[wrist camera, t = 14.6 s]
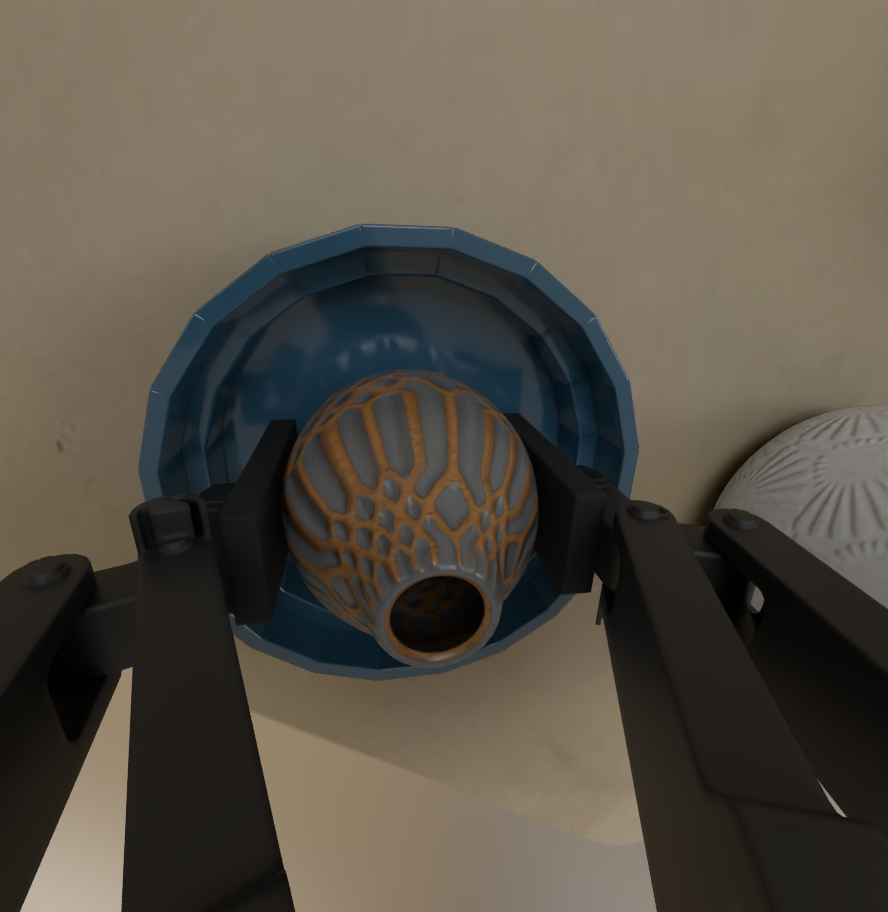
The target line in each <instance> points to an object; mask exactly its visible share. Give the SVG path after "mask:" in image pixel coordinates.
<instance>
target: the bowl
mask: <svg viewBox="0 0 888 912" xmlns="http://www.w3.org/2000/svg"><path fill="white" fill-rule="evenodd" d="M401 369H415V370H425V371H431V372H436V373H439V374H443V375H446V376H449V377H452V378H454V379H456V380H459V381H460V382H462V383H464V384H466V385H468V386H470V387H471V388H473V389H474V390H476V391H477V392H479V393H480V394H482V395H483V396H484V397H485V398H487V399H488V400H489V401H490V402H491V403H492V404H494V405H495V406H496V407H497V408H498V409H499V410H500V411H501V412H502V413H519V414H520V415H521V416H523V417H524V418H525V419H526V420H527V421H528V422H529V423H530V424H531V425H532V426H533V427H534V428H536V429H537V430H538V431H539V432H540V433H541V434H542V435H543V436H544V437H545V438H546V439H547V440H549V441H550V442H551V443H552V444H553V445H554V446H555V447H556V448H557V449H558V450H559V451H560V452H562V453H563V454H564V455H565V456H566V457H567V458H568V459H569V460H570V461H571V462H572V463H573V464H575V465H584V466H586V467H589V468H591V469H593V470H595V471H597V472H599V473H600V474H601V475H602V476H603V477H604V478H606V481H609V482H610V483H611V484H613V485H614V487H616V488H617V489H618V490H619V491H621V492H622V493H623V494H624V495H625V496H626V497H628V498H629V499H630V494H631V489H632V483H633V478H634V472H635V467H636V462H637V456H638V451H639V450H638V448H639V445H638V438H637V431H636V423H635V416H634V409H633V402H632V394H631V387H630V382H629V378H628V376H627V374H626V373H625V371H624V369H623V367H622V365H621V363H620V361H619V359H618V357H617V355H616V353H615V351H614V349H613V347H612V346H611V344H610V342H609V340H608V338H607V336H606V334H605V332H604V330H603V328H602V326H601V324H600V322H599V320H598V318H597V317H596V316H595V314H594V313H593V312H592V311H591V310H590V309H589V308H588V307H587V306H586V305H584V304H583V303H582V302H581V301H580V300H579V299H578V298H577V297H576V296H575V295H574V294H572V293H571V292H570V291H569V290H568V289H567V288H566V287H565V286H564V285H563V284H561V283H560V282H559V281H558V280H557V279H556V278H555V277H554V276H553V275H552V274H551V273H549V272H548V271H547V270H546V269H545V268H544V267H543V266H542V265H541V264H540V263H538V262H537V261H535V260H534V259H532V258H529V257H527V256H524V255H522V254H520V253H517V252H515V251H512V250H510V249H507V248H505V247H502V246H500V245H497V244H495V243H492V242H490V241H488V240H485V239H483V238H480V237H478V236H475V235H473V234H470V233H468V232H465V231H463V230H461V229H458V228H453V227H439V226H412V225H384V224H361V225H354V226H351V227H348V228H345V229H342V230H339V231H336V232H333V233H330V234H327V235H323V236H320V237H317V238H314V239H311V240H308V241H305V242H302V243H299V244H296V245H293V246H289V247H286V248H283V249H280V250H277V251H274V252H271V253H270V255H266V256H264V257H263V258H262V259H261V260H259V261H258V262H257V263H256V264H254V265H253V266H252V267H251V268H249V269H248V270H247V271H246V272H244V273H243V274H242V275H240V276H239V277H238V278H237V279H235V280H234V281H233V282H232V283H230V284H229V285H228V286H227V287H225V288H224V289H223V290H222V291H220V292H219V293H218V294H217V295H215V296H214V297H213V298H211V299H210V300H209V301H208V302H206V303H205V304H204V305H203V306H201V307H200V308H199V309H198V310H197V311H196V313H194V314H193V315H192V317H191V319H190V321H189V322H188V324H187V326H186V327H185V329H184V331H183V332H182V334H181V336H180V338H179V339H178V341H177V343H176V344H175V346H174V348H173V350H172V351H171V353H170V355H169V356H168V358H167V360H166V362H165V363H164V365H163V367H162V368H161V370H160V372H159V374H158V375H157V377H156V379H155V380H154V382H153V384H152V386H151V389H150V392H149V398H148V405H147V412H146V419H145V426H144V432H143V439H142V446H141V453H140V460H139V466H138V468H139V475H140V480H141V484H142V488H143V492H144V497H145V501H149V500H151V499H154V498H158V497H162V496H166V495H174V494H194V495H197V496H199V494H200V493H201V492H203V491H204V490H206V489H207V488H209V487H211V486H212V485H214V484H227V483H236V482H237V480H238V479H239V477H240V475H241V473H242V471H243V470H244V468H245V466H246V464H247V462H248V461H249V459H250V457H251V455H252V454H253V452H254V450H255V448H256V446H257V445H258V443H259V441H260V439H261V437H262V436H263V434H264V432H265V430H266V429H267V427H268V425H269V423H270V421H271V420H286V419H295V421H296V431H297V438H298V436H299V434H300V432H301V431H302V429H303V427H304V426H305V424H306V423H307V422H308V420H309V419H310V417H311V416H312V415H313V413H314V412H315V411H316V410H317V409H318V408H319V407H320V406H321V405H322V404H323V403H324V402H325V401H326V400H327V399H328V398H329V397H330V396H332V395H333V394H334V393H336V392H337V391H339V390H340V389H342V388H343V387H345V386H347V385H348V384H350V383H352V382H354V381H356V380H359V379H361V378H364V377H366V376H369V375H373V374H376V373H380V372H385V371H391V370H401ZM594 574H595V572H594ZM574 596H575V594H567V595H562V594H561V592H560V590H559V589H558V587H557V586H556V584H555V582H554V581H553V579H552V578H551V576H550V574H549V573H548V571H547V569H546V568H545V566H544V565H543V563H542V561H541V560H540V558H539V556H538V555H537V553H536V552H535V550H534V548H533V551H532V554H531V556H530V559H529V561H528V564H527V566H526V568H525V570H524V572H523V574H522V576H521V578H520V579H519V581H518V582H517V584H516V585H515V587H514V588H513V590H512V591H511V593H510V594H509V595H508V596H507V598H506V599H505V600H504V602H503V604H502V610H501V615H500V619H499V622H498V625H497V627H496V629H495V631H494V633H493V635H492V636H491V638H490V639H489V640H488V641H487V642H486V644H485V645H484V646H483V647H482V648H480V649H479V650H478V651H477V652H475V653H474V654H473V655H471V656H469V657H468V658H466V659H464V660H462V661H459V662H457V663H454V664H451V665H447V666H442V667H434V668H424V667H416V666H411V665H408V664H405V663H403V662H400V661H398V660H396V659H395V658H393V657H392V656H390V655H389V654H388V653H387V652H386V651H385V650H384V649H383V648H382V647H381V646H380V645H379V643H378V642H377V640H376V639H375V638H374V636H372V635H370V634H367V633H365V632H363V631H361V630H359V629H357V628H355V627H353V626H351V625H349V624H348V623H346V622H344V621H342V620H341V619H340V618H338V617H337V616H335V615H334V614H333V613H332V612H330V611H329V610H328V609H327V608H326V607H325V606H324V605H323V604H322V603H320V602H319V600H318V599H317V598H316V597H315V596H314V595H313V593H312V592H311V591H310V589H309V588H308V587H307V585H306V584H305V582H304V581H303V579H302V577H301V576H300V574H299V572H298V570H297V568H296V566H295V564H294V561H293V559H292V556H291V554H290V551H289V552H288V556H287V561H286V565H285V569H284V573H283V577H282V581H281V585H280V589H279V594H278V598H277V602H276V606H275V610H274V614H273V618H272V622H270V623H259V624H249V625H238V626H236V624H235V618H234V612H233V607H232V609H231V611H230V614H229V619H230V623H231V628H232V632H233V634H234V635H235V636H236V637H237V638H239V639H240V640H241V641H243V642H244V643H245V644H246V645H248V646H249V647H251V648H253V649H255V650H258V651H260V652H263V653H265V654H268V655H270V656H273V657H275V658H278V659H280V660H283V661H285V662H288V663H290V664H293V665H295V666H298V667H300V668H303V669H305V670H308V671H310V672H313V671H314V673H319V674H327V675H335V676H343V677H351V678H359V679H368V680H376V681H378V680H380V681H381V680H390V679H398V678H407V677H415V676H424V675H433V674H441V673H442V672H443V673H445V672H448V671H451V670H453V669H456V668H459V667H461V666H464V665H467V664H470V663H472V662H475V661H478V660H481V659H483V658H486V657H489V656H492V655H494V654H497V653H500V652H502V650H503V651H504V650H506V649H507V648H509V647H510V646H512V645H513V644H515V643H516V642H518V641H519V640H521V639H522V638H524V637H525V636H527V635H528V634H530V633H531V632H533V631H534V630H536V629H537V628H539V627H540V626H542V625H543V624H545V623H546V622H548V621H549V620H551V619H552V618H554V617H555V616H556V615H557V614H558V613H559V612H560V611H561V610H562V609H563V608H564V607H565V605H566V604H567V603H568V602H569V601H570V600H571V599H572V598H573V597H574Z"/></svg>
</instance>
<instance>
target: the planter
mask: <svg viewBox="0 0 888 912" xmlns="http://www.w3.org/2000/svg"><path fill="white" fill-rule="evenodd" d="M721 508H726V509H731V508H735V509H739V510H740V511H741V510H745V511H748V512H749V513H751V514H753V515H756V516H759V517H760V518H762V519H764V520H766V521H767V522H769V523H770V524H772V525H773V526H774V527H776V528H777V529H778V530H780V531H781V532H783V533H784V534H785V535H787V536H788V537H789V538H791V539H792V540H794V541H795V542H796V543H798V544H799V545H800V546H802V547H803V548H805V549H806V550H807V551H809V552H810V553H811V554H813V555H814V556H816V557H817V558H818V559H820V560H821V561H823V562H824V563H825V564H827V565H828V566H829V567H831V568H832V569H834V570H835V571H836V572H838V573H839V574H840V575H842V576H843V577H845V578H846V579H847V580H849V581H850V582H851V583H853V584H854V585H856V586H857V587H858V588H860V589H861V590H862V591H864V592H865V593H867V594H868V595H869V596H871V597H872V598H873V599H875V600H876V601H878V602H879V603H880V604H882V605H883V606H884V607H886V608H887V609H888V405H869V406H857V407H850V408H843V409H838V410H834V411H830V412H826V413H823V414H820V415H818V416H815V417H812V418H810V419H807V420H805V421H802V422H800V423H798V424H796V425H794V426H792V427H790V428H789V429H787V430H785V431H783V432H782V433H780V434H779V435H777V436H776V437H774V438H773V439H771V440H770V441H769V442H767V443H766V444H765V445H764V446H762V447H761V448H760V449H759V450H758V451H756V452H755V453H754V454H753V455H752V456H751V457H750V458H749V459H748V460H747V461H746V462H745V463H744V464H743V465H742V466H741V467H740V468H739V470H738V471H737V472H736V473H735V475H734V476H733V477H732V478H731V480H730V481H729V482H728V484H727V485H726V487H725V488H724V490H723V492H722V493H721V495H720V497H719V499H718V501H717V503H716V505H715V507H714V509H721ZM714 509H713V510H714ZM763 602H764V598H763V595H762V593H761V591H760V590H759V589H758V588H757V586H756V588H755V591H754V594H753V598H752V601H751V605H752V606H753V607H754V608H755V609H756V610H757V611H760V610H761V608H762V605H763Z"/></svg>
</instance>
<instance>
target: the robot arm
mask: <svg viewBox="0 0 888 912" xmlns="http://www.w3.org/2000/svg"><path fill="white" fill-rule="evenodd" d="M503 415H504V416H505V417H506V418H507V419H508V421H509V422H510V423H511V425H512V426H513V427H514V429H515V430H516V432H517V433H518V435H519V436H520V438H521V440H522V442H523V444H524V446H525V448H526V451H527V453H528V456H529V458H530V461H531V464H532V468H533V471H534V475H535V480H536V486H537V493H538V507H539V516H538V527H537V534H536V540H535V544H534V550H535V552H536V553H537V555H538V556H539V558H540V560H541V561H542V563H543V565H544V566H545V568H546V569H547V571H548V573H549V574H550V576H551V578H552V579H553V581H554V582H555V584H556V586H557V587H558V589H559V590H560V592H561V594H562V595H567V594H577V593H588V592H591V588H592V582H593V576H594V572H595V573H596V574H597V576H598V577H599V578H600V580H601V581H602V582H603V584H602V589H601V595H600V601H599V606H598V612H597V618H596V625H600V624H601V619H602V618H603V619H604V624H605V630H606V635H607V641H608V646H609V652H610V657H611V663H612V668H613V674H614V679H615V685H616V690H617V696H618V701H619V706H620V712H621V717H622V723H623V728H624V734H625V739H626V745H627V750H628V756H629V761H630V767H631V772H632V778H633V783H634V788H635V794H636V799H637V805H638V810H639V816H640V821H641V827H642V832H643V838H644V843H645V848H646V854H647V859H648V865H649V870H650V876H651V881H652V887H653V892H654V898H655V903H656V909H657V912H888V609H887V608H886V607H884V606H883V605H882V604H880V603H879V602H878V601H876V600H875V599H873V598H872V597H871V596H869V595H868V594H867V593H865V592H864V591H862V590H861V589H860V588H858V587H857V586H856V585H854V584H853V583H851V582H850V581H849V580H847V579H846V578H845V577H843V576H842V575H840V574H839V573H838V572H836V571H835V570H834V569H832V568H831V567H829V566H828V565H827V564H825V563H824V562H823V561H821V560H820V559H818V558H817V557H816V556H814V555H813V554H811V553H810V552H809V551H807V550H806V549H805V548H803V547H802V546H800V545H799V544H798V543H796V542H795V541H794V540H792V539H791V538H789V537H788V536H787V535H785V534H784V533H783V532H781V531H780V530H778V529H777V528H776V527H774V526H773V525H772V524H770V523H769V522H767V521H766V520H764V519H762V518H760V517H759V516H756V515H753V514H751V513H749V512H748V511H745V510H741V511H740V510H739V509H735V508H731V509H726V508H721V509H714V510H712V511H710V512H709V514H708V518H707V522H706V526H698V525H688V524H679V523H677V521H676V519H675V517H674V516H673V514H672V513H671V512H670V511H669V510H667V509H665V508H663V507H662V506H659V505H656V504H653V503H650V502H645V501H639V500H630V499H629V498H628V497H626V496H625V495H624V494H623V493H622V492H621V491H619V490H618V489H617V488H616V487H614V485H613V484H611V483H610V482H609V481H606V478H604V477H603V476H602V475H601V474H600V473H599V472H597V471H595V470H593V469H591V468H589V467H586V466H584V465H575V464H573V463H572V462H571V461H570V460H569V459H568V458H567V457H566V456H565V455H564V454H563V453H562V452H560V451H559V450H558V449H557V448H556V447H555V446H554V445H553V444H552V443H551V442H550V441H549V440H547V439H546V438H545V437H544V436H543V435H542V434H541V433H540V432H539V431H538V430H537V429H536V428H534V427H533V426H532V425H531V424H530V423H529V422H528V421H527V420H526V419H525V418H524V417H523V416H521V415H520V414H519V413H503ZM296 440H297V431H296V421H295V419H286V420H271V421H270V423H269V425H268V427H267V429H266V430H265V432H264V434H263V436H262V437H261V439H260V441H259V443H258V445H257V446H256V448H255V450H254V452H253V454H252V455H251V457H250V459H249V461H248V462H247V464H246V466H245V468H244V470H243V471H242V473H241V475H240V477H239V479H238V480H237V482H236V483H227V484H214V485H212V486H211V487H209V488H207V489H206V490H204V491H203V492H201V493H200V494H199V496H197V495H194V494H174V495H166V496H162V497H158V498H154V499H151V500H149V501H146V502H144V503H142V504H140V505H138V506H137V507H136V508H134V509H133V510H132V511H131V513H130V515H129V519H130V523H131V527H132V531H133V535H134V539H135V543H136V547H137V551H138V561H135V562H133V563H129V564H125V565H122V566H118V567H113V568H109V569H105V570H100V571H96V572H93V569H92V565H91V562H90V561H89V559H88V558H87V557H86V556H82V555H78V554H62V555H57V556H47V557H44V558H40V560H38V559H37V560H35V561H32V562H30V563H28V564H27V565H25V566H23V567H21V568H19V569H17V570H15V571H13V572H12V573H11V574H9V575H8V576H7V577H6V578H4V579H3V580H2V581H1V582H0V912H20V910H21V907H22V905H23V903H24V901H25V898H26V896H27V893H28V891H29V889H30V887H31V884H32V882H33V880H34V877H35V875H36V873H37V870H38V868H39V866H40V863H41V861H42V858H43V856H44V854H45V852H46V849H47V847H48V845H49V842H50V840H51V838H52V835H53V833H54V831H55V828H56V826H57V824H58V821H59V819H60V817H61V814H62V812H63V810H64V807H65V805H66V803H67V800H68V798H69V796H70V793H71V791H72V789H73V786H74V784H75V782H76V779H77V777H78V775H79V772H80V770H81V768H82V766H83V763H84V761H85V758H86V756H87V754H88V752H89V749H90V747H91V744H92V742H93V740H94V737H95V735H96V733H97V730H98V728H99V726H100V724H101V721H102V719H103V717H104V714H105V712H106V709H107V707H108V705H109V702H110V700H111V698H112V696H113V693H114V691H115V689H116V686H117V684H118V682H119V679H120V677H121V672H122V670H124V669H127V668H130V667H133V673H132V674H133V675H132V694H131V717H130V737H129V739H130V740H129V759H128V781H127V803H126V824H125V845H124V846H125V847H124V867H123V889H122V911H121V912H295V909H294V904H293V900H292V896H291V891H290V887H289V882H288V878H287V874H286V871H285V869H284V866H283V862H282V857H281V853H280V848H279V844H278V840H277V835H276V830H275V826H274V821H273V816H272V812H271V807H270V803H269V798H268V794H267V789H266V784H265V780H264V775H263V770H262V766H261V761H260V757H259V752H258V748H257V743H256V738H255V734H254V729H253V724H252V720H251V715H250V711H249V706H248V701H247V697H246V692H245V688H244V683H243V678H242V674H241V669H240V665H239V660H238V655H237V651H236V646H235V642H234V637H233V632H232V628H231V623H230V619H229V614H230V611H231V609H232V607H233V612H234V618H235V624H236V626H238V625H249V624H259V623H270V622H272V618H273V614H274V610H275V606H276V602H277V598H278V594H279V589H280V585H281V581H282V577H283V573H284V569H285V565H286V561H287V556H288V552H289V548H288V544H287V541H286V537H285V533H284V527H283V522H282V512H281V493H282V483H283V478H284V473H285V469H286V466H287V462H288V459H289V456H290V453H291V451H292V448H293V446H294V444H295V442H296ZM756 586H757V588H758V589H759V590H760V591H761V593H762V595H763V598H764V602H763V605H762V608H761V610H760V611H757V610H756V609H755V608H754V607H753V606H752V605H751V601H752V598H753V594H754V591H755V588H756ZM817 779H818V780H817ZM818 781H819V782H820V783H821V784H822V785H823V787H824V788H825V790H826V791H827V792H828V793H829V795H830V796H831V797H832V798H833V800H834V801H835V802H836V804H837V805H838V806H839V807H840V809H841V810H842V811H843V813H844V814H845V815H846V816H847V817H842V816H841V815H840V814H838V813H837V812H836V810H835V809H834V807H833V806H832V804H831V803H830V802H829V800H828V798H827V796H826V794H825V793H824V791H823V789H822V787H821V785H820V783H819V782H818Z"/></svg>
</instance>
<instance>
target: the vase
mask: <svg viewBox="0 0 888 912" xmlns="http://www.w3.org/2000/svg"><path fill="white" fill-rule="evenodd" d="M281 512H282V522H283V527H284V533H285V537H286V541H287V544H288V548H289V551H290V554H291V556H292V559H293V561H294V564H295V566H296V568H297V570H298V572H299V574H300V576H301V577H302V579H303V581H304V582H305V584H306V585H307V587H308V588H309V589H310V591H311V592H312V593H313V595H314V596H315V597H316V598H317V599H318V600H319V602H320V603H322V604H323V605H324V606H325V607H326V608H327V609H328V610H329V611H330V612H332V613H333V614H334V615H335V616H337V617H338V618H340V619H341V620H342V621H344V622H346V623H348V624H349V625H351V626H353V627H355V628H357V629H359V630H361V631H363V632H365V633H367V634H370V635H372V636H374V638H375V639H376V640H377V642H378V643H379V645H380V646H381V647H382V648H383V649H384V650H385V651H386V652H387V653H388V654H389V655H390V656H392V657H393V658H395V659H396V660H398V661H400V662H403V663H405V664H408V665H411V666H416V667H424V668H434V667H442V666H447V665H451V664H454V663H457V662H459V661H462V660H464V659H466V658H468V657H469V656H471V655H473V654H474V653H475V652H477V651H478V650H479V649H480V648H482V647H483V646H484V645H485V644H486V642H487V641H488V640H489V639H490V638H491V636H492V635H493V633H494V631H495V629H496V627H497V625H498V622H499V619H500V615H501V610H502V604H503V602H504V600H505V599H506V598H507V596H508V595H509V594H510V593H511V591H512V590H513V588H514V587H515V585H516V584H517V582H518V581H519V579H520V578H521V576H522V574H523V572H524V570H525V568H526V566H527V564H528V561H529V559H530V556H531V554H532V551H533V548H534V544H535V540H536V534H537V527H538V516H539V507H538V493H537V486H536V480H535V475H534V471H533V468H532V464H531V461H530V458H529V456H528V453H527V451H526V448H525V446H524V444H523V442H522V440H521V438H520V436H519V435H518V433H517V432H516V430H515V429H514V427H513V426H512V425H511V423H510V422H509V421H508V419H507V418H506V417H505V416H504V415H503V413H502V412H501V411H500V410H499V409H498V408H497V407H496V406H495V405H494V404H492V403H491V402H490V401H489V400H488V399H487V398H485V397H484V396H483V395H482V394H480V393H479V392H477V391H476V390H474V389H473V388H471V387H470V386H468V385H466V384H464V383H462V382H460V381H459V380H456V379H454V378H452V377H449V376H446V375H443V374H439V373H436V372H431V371H425V370H415V369H401V370H391V371H385V372H380V373H376V374H373V375H369V376H366V377H364V378H361V379H359V380H356V381H354V382H352V383H350V384H348V385H347V386H345V387H343V388H342V389H340V390H339V391H337V392H336V393H334V394H333V395H332V396H330V397H329V398H328V399H327V400H326V401H325V402H324V403H323V404H322V405H321V406H320V407H319V408H318V409H317V410H316V411H315V412H314V413H313V415H312V416H311V417H310V419H309V420H308V422H307V423H306V424H305V426H304V427H303V429H302V431H301V432H300V434H299V436H298V438H297V440H296V442H295V444H294V446H293V448H292V451H291V453H290V456H289V459H288V462H287V466H286V469H285V473H284V478H283V483H282V493H281Z"/></svg>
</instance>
